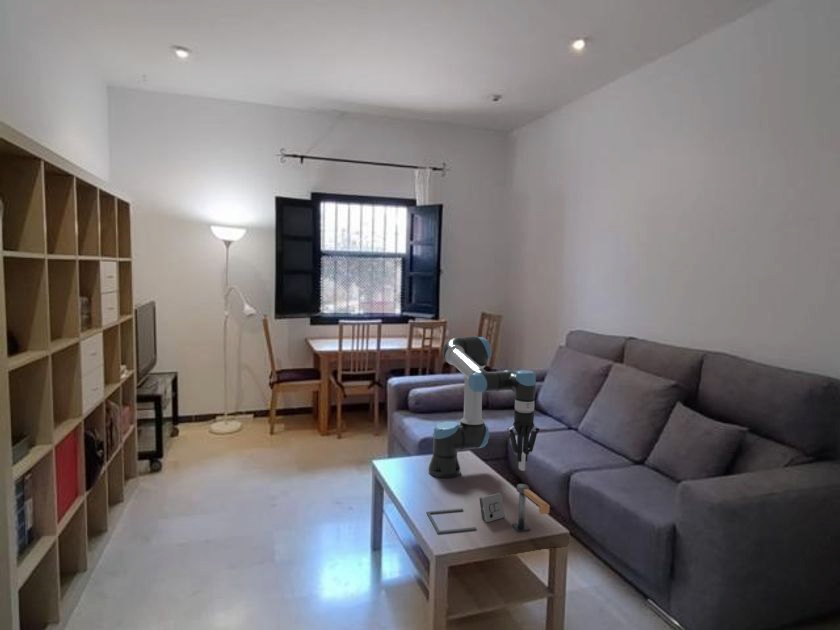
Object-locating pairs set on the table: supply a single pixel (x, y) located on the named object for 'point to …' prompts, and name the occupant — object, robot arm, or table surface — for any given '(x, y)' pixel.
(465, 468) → the table surface
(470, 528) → the bay
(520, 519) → the mast
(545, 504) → the lever
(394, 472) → the table surface
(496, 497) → the electrical switch
